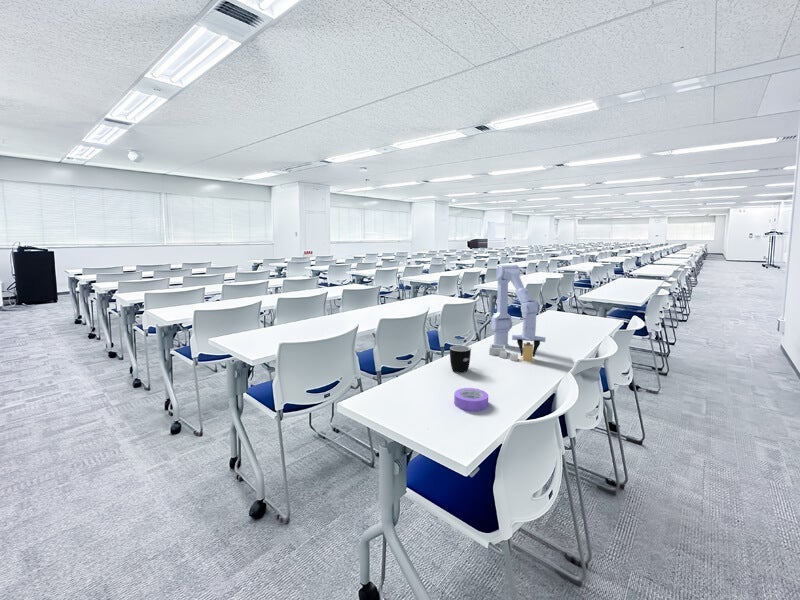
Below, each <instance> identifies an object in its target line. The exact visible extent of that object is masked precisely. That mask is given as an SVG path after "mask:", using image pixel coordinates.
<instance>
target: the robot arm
mask: <svg viewBox="0 0 800 600" xmlns="http://www.w3.org/2000/svg"><path fill="white" fill-rule="evenodd" d="M495 269H496V272H495V275H496V276H495V279H496V281H497V301H496V302H497V303H496V304H497V305H496V312H495V313H494V314H493V315H492V316H491V321H490V328H491V329H492V331H493V343H492V344H496V345H505V348H508V347H509V346H510V345H509V332H510V330H512V328H513V321H512V315H510V314H509V313H508V301H509V299H508V297H509V296H508V295H509V283H510V282H511V283H512V286H513V287H514V288H515V290H516V291H517V292H516V297H517V298H518V301H519V303H520V305H521V306H520V312H521V317H522V331H521V333H522V334H512V335H511V336H512V337H511V340H512V341H516V343H517V345H518V348H519V351H520V357H523V347H524V343H523V342H524V341H526V342H527V341H529V342H533V356H532V358H535V356H536V353H537V350H538V348H539V346H540V345H541V342H542V343H546V340H547V339H546V336H538V335H536V331H537V330H536V328H537V314H539V312H540V308H541V307H540V304H539V302H538V300H535V299H533V297H532V295H531V293H530V291H529V289H527V288H525V286H524V284H523V281H522V278H521V269H520V267H519V265H517V264H508V265H507V264H506V265H505V264H504V265H499V266H497V267H496V268H495Z"/></svg>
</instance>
